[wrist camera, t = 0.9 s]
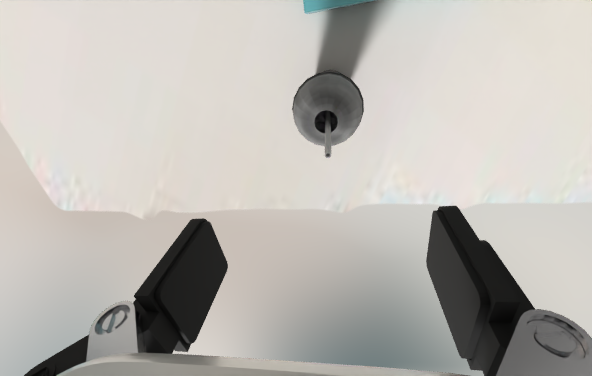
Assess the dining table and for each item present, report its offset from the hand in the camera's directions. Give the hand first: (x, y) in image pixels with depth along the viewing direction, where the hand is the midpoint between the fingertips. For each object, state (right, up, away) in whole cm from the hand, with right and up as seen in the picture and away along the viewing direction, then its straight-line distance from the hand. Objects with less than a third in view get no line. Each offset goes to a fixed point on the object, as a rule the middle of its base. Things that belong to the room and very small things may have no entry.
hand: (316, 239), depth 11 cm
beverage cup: (+4, +16, +25) cm, 30 cm away
